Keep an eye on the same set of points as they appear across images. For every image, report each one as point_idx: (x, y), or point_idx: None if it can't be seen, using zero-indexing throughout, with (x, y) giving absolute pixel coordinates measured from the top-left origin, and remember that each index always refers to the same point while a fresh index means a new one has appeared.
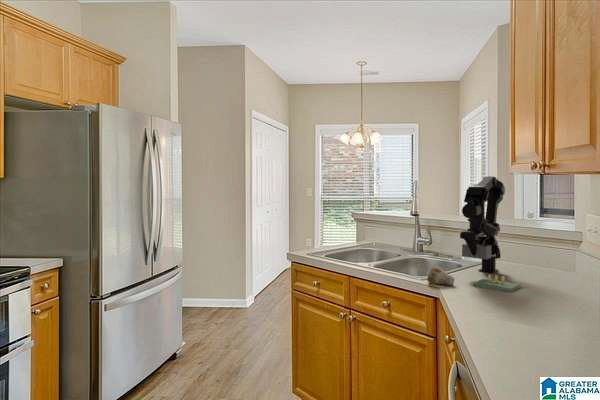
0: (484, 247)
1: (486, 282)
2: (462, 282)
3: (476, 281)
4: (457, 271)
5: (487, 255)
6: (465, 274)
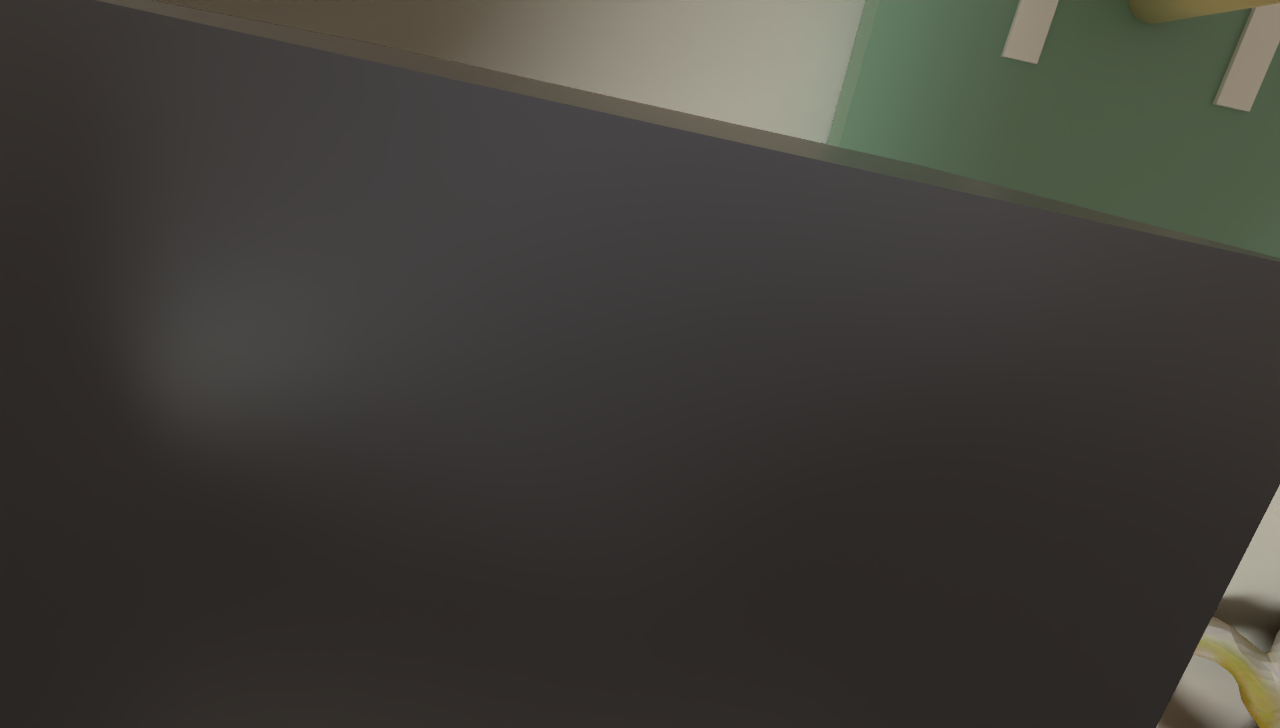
0: (1195, 476)
1: (1185, 56)
2: None
3: None
4: None
5: (822, 146)
6: None
